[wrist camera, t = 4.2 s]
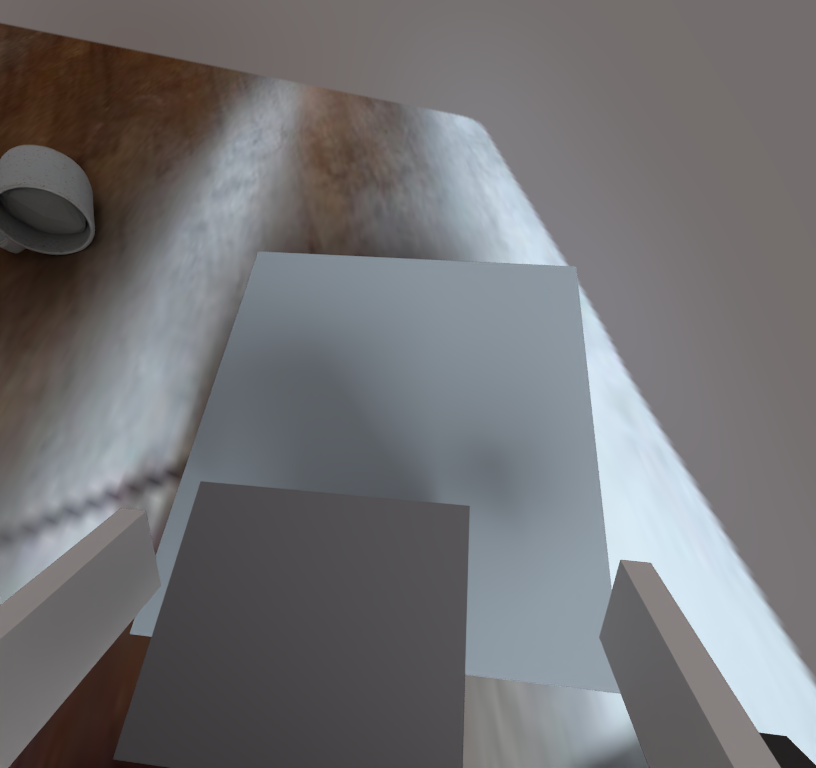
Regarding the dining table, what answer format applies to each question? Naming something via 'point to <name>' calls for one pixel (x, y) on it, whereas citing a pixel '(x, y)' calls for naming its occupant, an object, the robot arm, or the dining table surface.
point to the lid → (376, 519)
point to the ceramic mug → (44, 202)
